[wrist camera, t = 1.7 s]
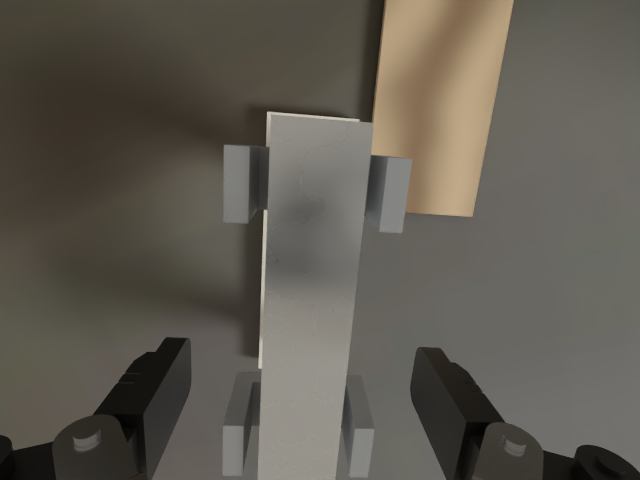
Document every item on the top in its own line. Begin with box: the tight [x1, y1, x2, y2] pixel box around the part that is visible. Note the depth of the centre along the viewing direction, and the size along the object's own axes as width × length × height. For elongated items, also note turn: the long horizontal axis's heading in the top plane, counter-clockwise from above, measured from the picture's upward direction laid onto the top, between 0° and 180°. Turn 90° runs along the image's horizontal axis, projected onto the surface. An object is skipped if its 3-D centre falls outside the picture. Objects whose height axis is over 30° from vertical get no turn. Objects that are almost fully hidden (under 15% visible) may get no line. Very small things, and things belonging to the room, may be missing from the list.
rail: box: [258, 114, 374, 480], centre depth 16 cm, size 4×17×4 cm, turn 176°
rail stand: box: [223, 112, 412, 477], centre depth 20 cm, size 7×19×12 cm, turn 176°
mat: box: [371, 0, 514, 217], centre depth 23 cm, size 8×19×1 cm, turn 176°
